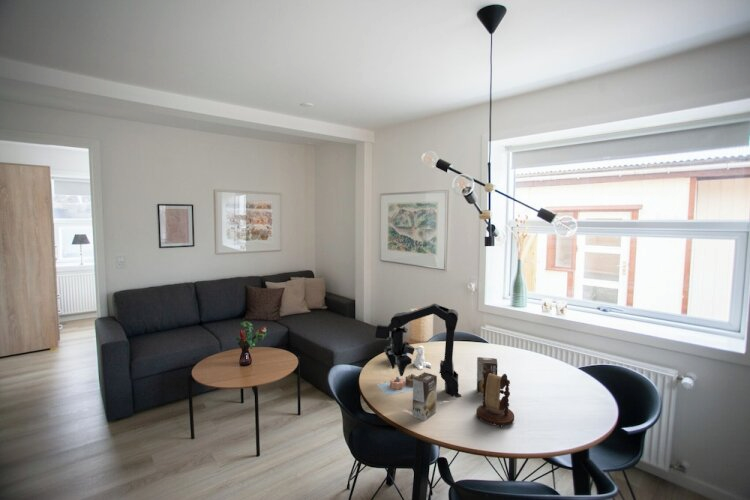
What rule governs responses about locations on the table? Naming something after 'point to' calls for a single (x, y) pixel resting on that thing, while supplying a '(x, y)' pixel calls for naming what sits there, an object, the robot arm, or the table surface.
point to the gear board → (389, 391)
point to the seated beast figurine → (421, 359)
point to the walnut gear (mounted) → (410, 379)
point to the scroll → (495, 400)
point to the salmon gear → (397, 384)
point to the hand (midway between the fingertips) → (397, 372)
